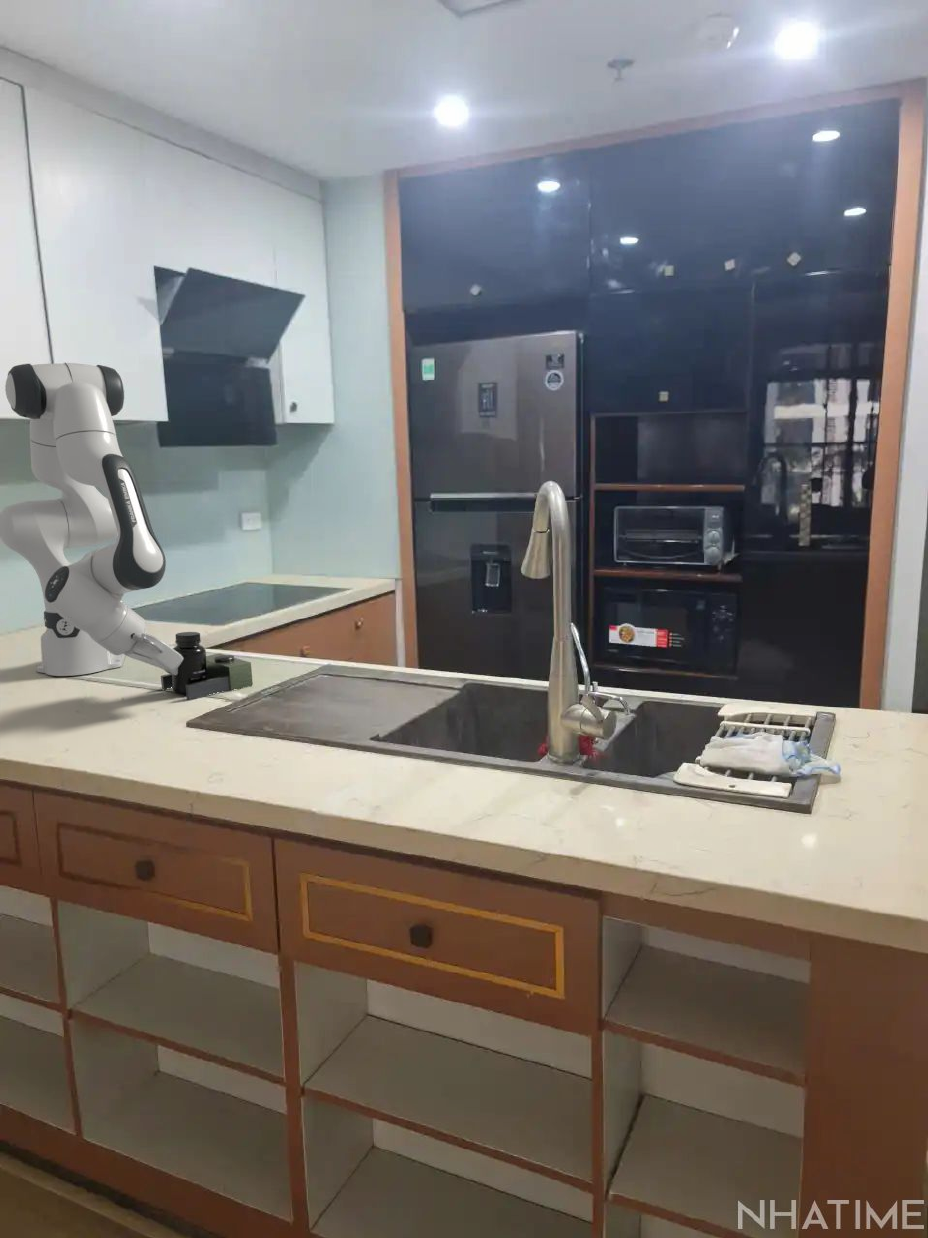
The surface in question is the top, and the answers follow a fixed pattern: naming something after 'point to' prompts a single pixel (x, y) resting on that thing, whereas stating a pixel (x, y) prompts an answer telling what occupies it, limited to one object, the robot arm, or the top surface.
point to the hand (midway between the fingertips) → (175, 671)
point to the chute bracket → (217, 676)
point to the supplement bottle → (189, 661)
